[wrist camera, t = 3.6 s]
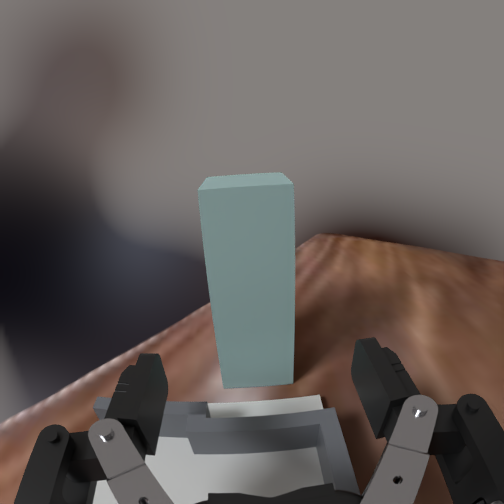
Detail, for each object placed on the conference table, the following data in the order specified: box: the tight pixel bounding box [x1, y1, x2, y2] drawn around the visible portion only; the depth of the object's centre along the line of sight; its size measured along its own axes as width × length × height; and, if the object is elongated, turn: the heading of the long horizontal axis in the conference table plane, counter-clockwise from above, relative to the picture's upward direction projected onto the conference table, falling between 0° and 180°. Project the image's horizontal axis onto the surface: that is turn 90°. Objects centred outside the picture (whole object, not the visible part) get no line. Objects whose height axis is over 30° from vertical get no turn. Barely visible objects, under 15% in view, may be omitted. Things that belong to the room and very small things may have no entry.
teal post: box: [198, 172, 295, 388], centre depth 21 cm, size 5×5×14 cm
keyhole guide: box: [93, 395, 360, 504], centre depth 12 cm, size 14×15×3 cm
